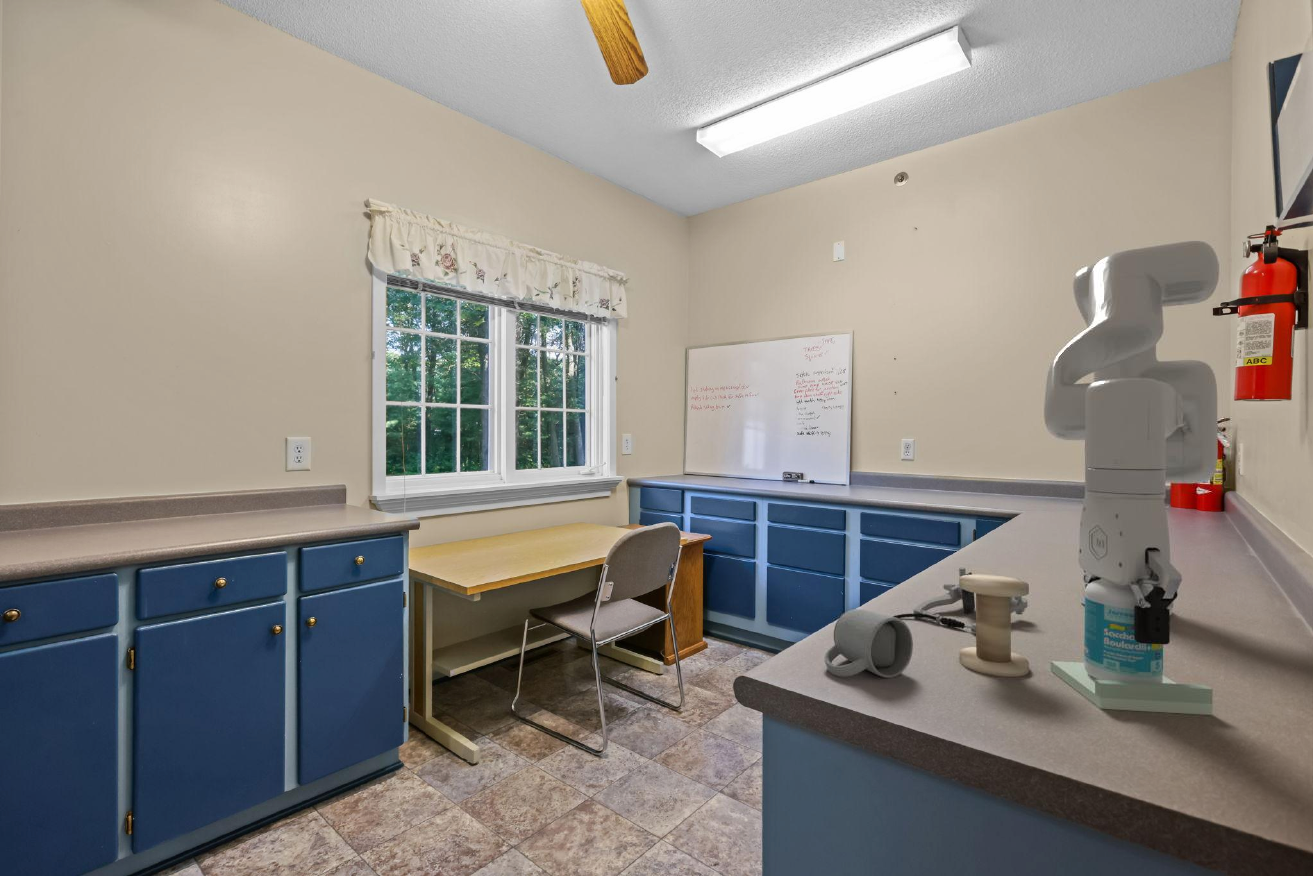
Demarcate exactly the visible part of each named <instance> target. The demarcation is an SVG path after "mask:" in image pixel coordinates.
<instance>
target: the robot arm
mask: <svg viewBox="0 0 1313 876" xmlns="http://www.w3.org/2000/svg"><path fill="white" fill-rule="evenodd" d="M1219 278H1220V264H1219V260H1218V256H1217V254H1216V251H1215V250H1214V248H1213V247H1212V246H1211V245H1210V244H1209V243H1208V242H1205V241H1202V240H1201V241H1200V240H1188V241H1180V242H1174V243H1167V244H1159V245H1155V246H1148V247H1142V248H1135V249H1134V248H1133V249H1128V250H1123V251H1119V252H1115V253H1112V254H1110V255H1108V256H1106V257H1104V258H1102V259H1101V260H1099V262H1096V263H1093V264H1090V265H1087V266H1085V267H1083V268H1081V269H1080V270H1078V271H1077V272H1076V273H1075V275H1074V278H1073V282H1072V289H1073V294H1074V299H1075V303H1076V306H1077V308H1078V310H1079V313H1080V315H1081V316H1082V317H1081V318H1082V319H1083V320H1084V322H1085V324H1086V326H1087V328H1086V329H1085V330H1083V331H1082V332H1081V333H1079V334H1078V335H1077V336H1075V337H1074V338H1073V339H1072V340H1071V341H1069V342H1067V344H1066V345H1065V346H1064V347H1063V348H1062V349H1061V350H1060V351H1059V352H1058V353H1057V355H1056V356H1055V357H1054V359H1053V361H1052V363H1051V364H1050V366H1049V369H1048V372H1047V377H1046V383H1045V391H1044V392H1045V394H1044V405H1043V407H1044V408H1043V417H1044V422H1045V427H1046V429H1047V430H1048V432H1049V434H1050V435H1052V436H1053V437H1055V438H1057V439H1060V440H1062V441H1063V440H1064V441H1084V497H1083V503H1082V507H1081V508H1082V509H1081V515H1080V524H1079V539H1078V541H1079V542H1078V564H1079V567H1080V568H1081V569H1082V570H1083V573H1084V574H1083V578H1082V579H1083V582H1084V585H1085V589H1086V587H1087V585H1088V584H1089V583H1091V582H1093V581H1096V580H1100V579H1101V578H1102V579H1104V580H1107V581H1109V582H1112V583H1115V584H1118V585H1128V584H1129V583H1130V585H1131V587H1132V589H1133V592H1134V594H1135V596H1136V599H1137V601H1138V603H1139V605H1140V606H1134V639H1135V641H1137V642H1139V643H1144V644H1163V645H1168V644H1169V643H1170V639H1171V638H1170V637H1171V635H1170V631H1171V630H1170V627H1171V626H1170V620H1171V619H1170V616H1172V615H1173V608H1174V602H1175V600H1176V599H1177V597H1178V589H1179V587H1180V585H1181V583H1182V579H1183V576H1182V574H1181V573H1180V572H1179V571H1178V570H1177V569H1176V567H1174V566H1173V565H1172V563H1171V543H1170V532H1169V531H1170V530H1169V523H1168V515H1167V509H1166V504H1165V499H1166V483H1167V484H1168V483H1169V484H1200V483H1204V482H1207V481H1210V480H1211V479H1212V478H1213V477H1214V475H1215V474H1216V471H1217V467H1218V454H1219V453H1218V452H1219V451H1218V450H1219V449H1218V448H1219V447H1218V446H1219V445H1218V388H1217V387H1218V386H1217V379H1216V376H1215V373H1214V371H1213V369H1212V367H1211V366H1210V365H1209V364H1207V363H1206V362H1204V361H1201V360H1195V359H1181V360H1164V361H1163V360H1162V361H1161V360H1160V361H1159V360H1158V359H1157V343H1158V342H1159V341H1160V340H1161V338H1162V336H1163V334H1164V329H1165V328H1164V327H1165V325H1164V312H1163V308H1164V307H1165V308H1166V307H1175V306H1185V305H1192V304H1193V305H1194V304H1199V303H1201V302H1204V301H1206V300H1208V299H1210V297H1212V295H1213V294H1214V293H1215V291H1216V289H1217V286H1218V282H1219ZM1092 373H1093V382H1087V383H1077V382H1078V381H1080V380H1081V379H1082V378H1085V377H1086V376H1088V375H1090V374H1092ZM1144 588H1153V589H1152V590H1151V592H1150V593H1149V594H1148V595H1147V593H1146V591H1145V589H1144ZM1080 603H1081V604H1083V605H1084V606H1085V593H1082V594H1081V595H1080Z"/></svg>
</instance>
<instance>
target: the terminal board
mask: <svg viewBox="0 0 1313 876" xmlns="http://www.w3.org/2000/svg"><path fill="white" fill-rule="evenodd" d="M1050 671H1051V672H1052V673H1053V674H1054V675H1056V676H1057V677H1058V678H1060V679H1061V680H1062V681H1064V682H1065V683H1067V685H1069V686H1070V687H1072V689H1074V690H1075V691H1077V692H1078V693H1080V694H1081V695H1082V696H1083V697H1084V698H1086V699H1087V700H1089V701H1090V702H1091V703H1092V704H1094V706H1096V707H1097V708H1099V709H1101V710H1117V711H1118V710H1119V711H1120V710H1121V711H1132V712H1133V711H1134V712H1151V713H1152V712H1154V713H1168V714H1169V713H1172V714H1183V715H1184V714H1188V715H1204V716H1207V715H1208V716H1213V715H1214V714H1213V705H1214V703H1213V699H1214V698H1213V696H1214V695H1213V693H1214V691H1213V688H1211V687H1209V686H1208V685H1203V684H1186V683H1184V684H1182V683H1177V682H1175V681H1174V680H1171V679H1170V678H1168V677H1167V676H1165V675H1163V682H1162V683H1150V682H1130V681H1111V680H1098V679H1096V678H1094V677H1092V676H1091V675H1090V674H1088V673H1087V671H1086V670H1085V667H1084V662H1076V661H1056V660H1054V661H1053V660H1050Z"/></svg>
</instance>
